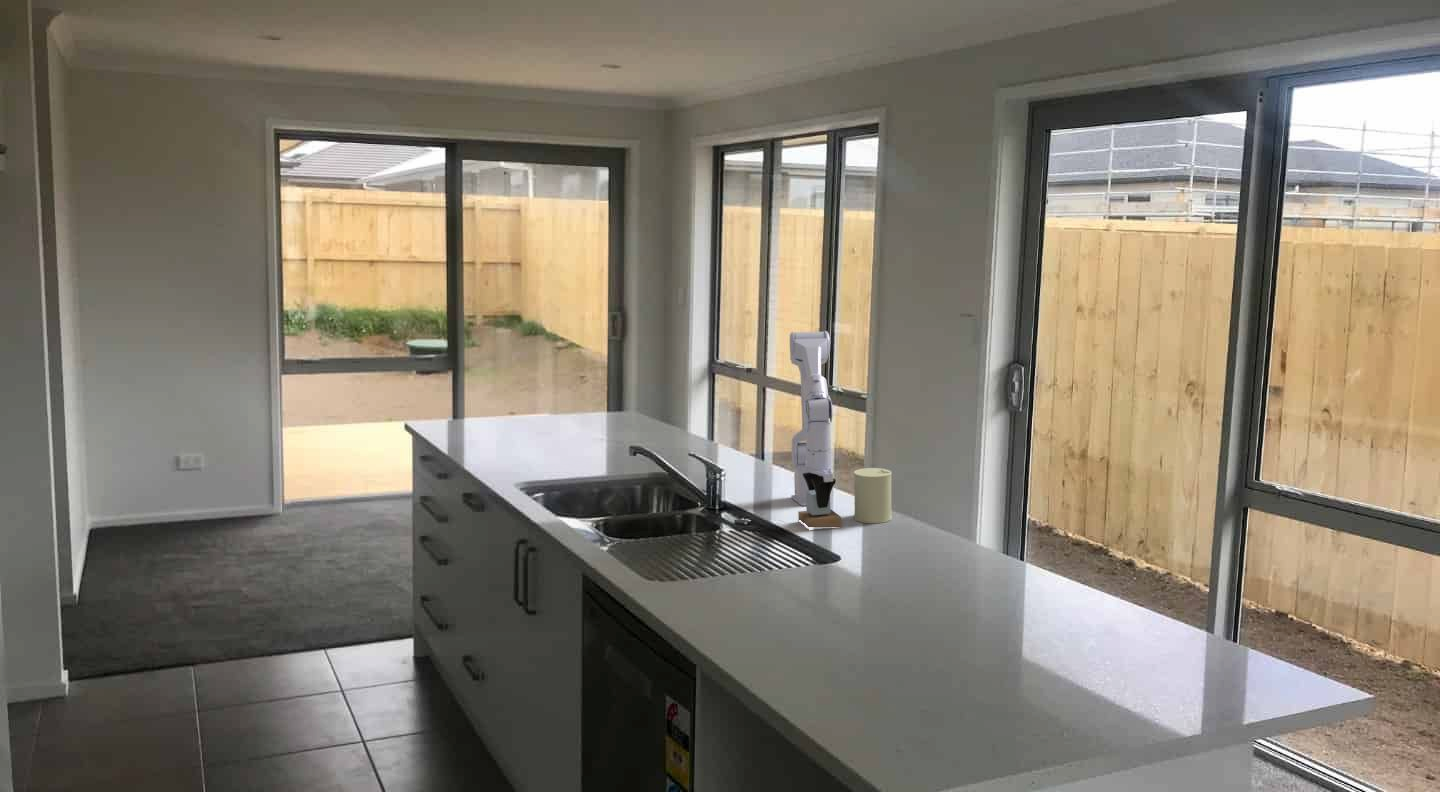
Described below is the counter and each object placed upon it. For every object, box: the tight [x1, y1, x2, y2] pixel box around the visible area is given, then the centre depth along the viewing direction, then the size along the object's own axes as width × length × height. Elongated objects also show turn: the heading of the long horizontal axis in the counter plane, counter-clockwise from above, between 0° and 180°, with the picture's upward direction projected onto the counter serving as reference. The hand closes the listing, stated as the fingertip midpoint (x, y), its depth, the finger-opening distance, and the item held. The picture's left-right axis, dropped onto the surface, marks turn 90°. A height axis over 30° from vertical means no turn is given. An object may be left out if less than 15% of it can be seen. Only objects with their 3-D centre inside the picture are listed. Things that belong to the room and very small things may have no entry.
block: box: [805, 490, 831, 515], centre depth 272 cm, size 4×4×5 cm
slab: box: [797, 508, 842, 528], centre depth 273 cm, size 8×8×3 cm
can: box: [853, 467, 893, 524], centre depth 276 cm, size 9×9×12 cm
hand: (819, 504), depth 272 cm, fingers closed on block, 4 cm apart
